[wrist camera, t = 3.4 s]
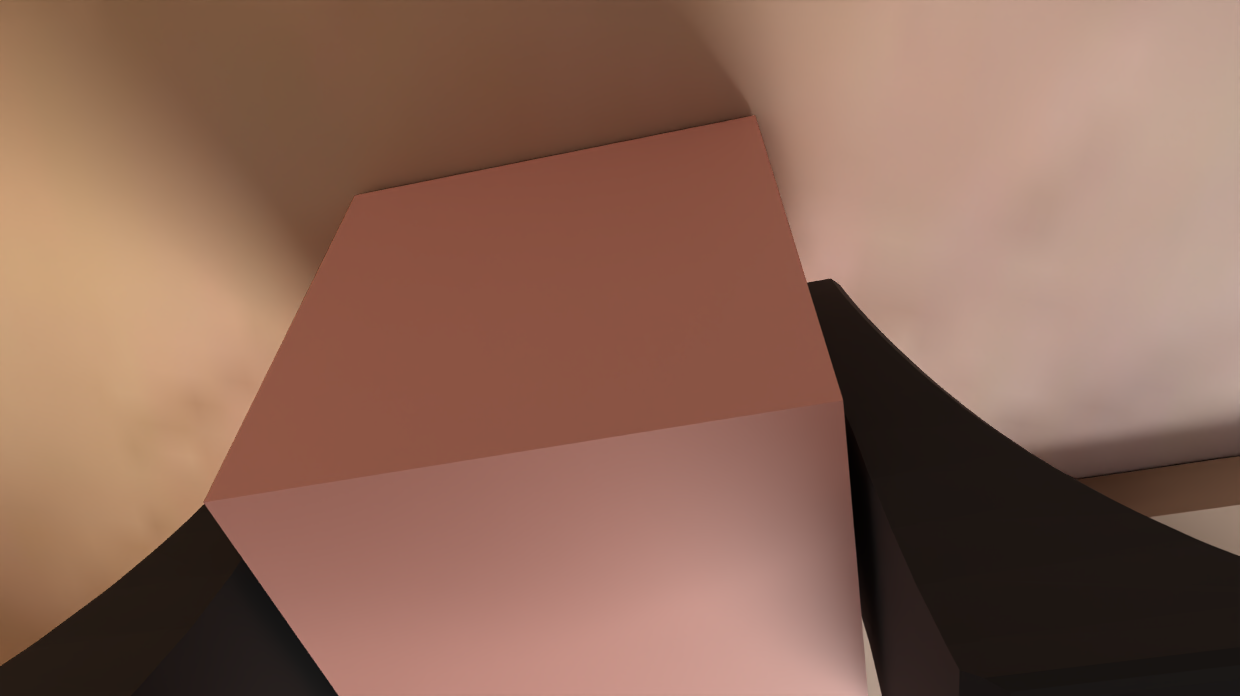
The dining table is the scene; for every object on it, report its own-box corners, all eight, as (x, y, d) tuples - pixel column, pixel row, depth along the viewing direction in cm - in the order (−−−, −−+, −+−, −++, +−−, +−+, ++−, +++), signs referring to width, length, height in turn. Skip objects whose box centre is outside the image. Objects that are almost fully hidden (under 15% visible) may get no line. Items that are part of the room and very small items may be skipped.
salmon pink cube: (475, 476, 15) (418, 809, 11) (354, 195, 12) (203, 503, 8) (795, 425, 15) (873, 758, 10) (755, 115, 12) (842, 399, 7)
